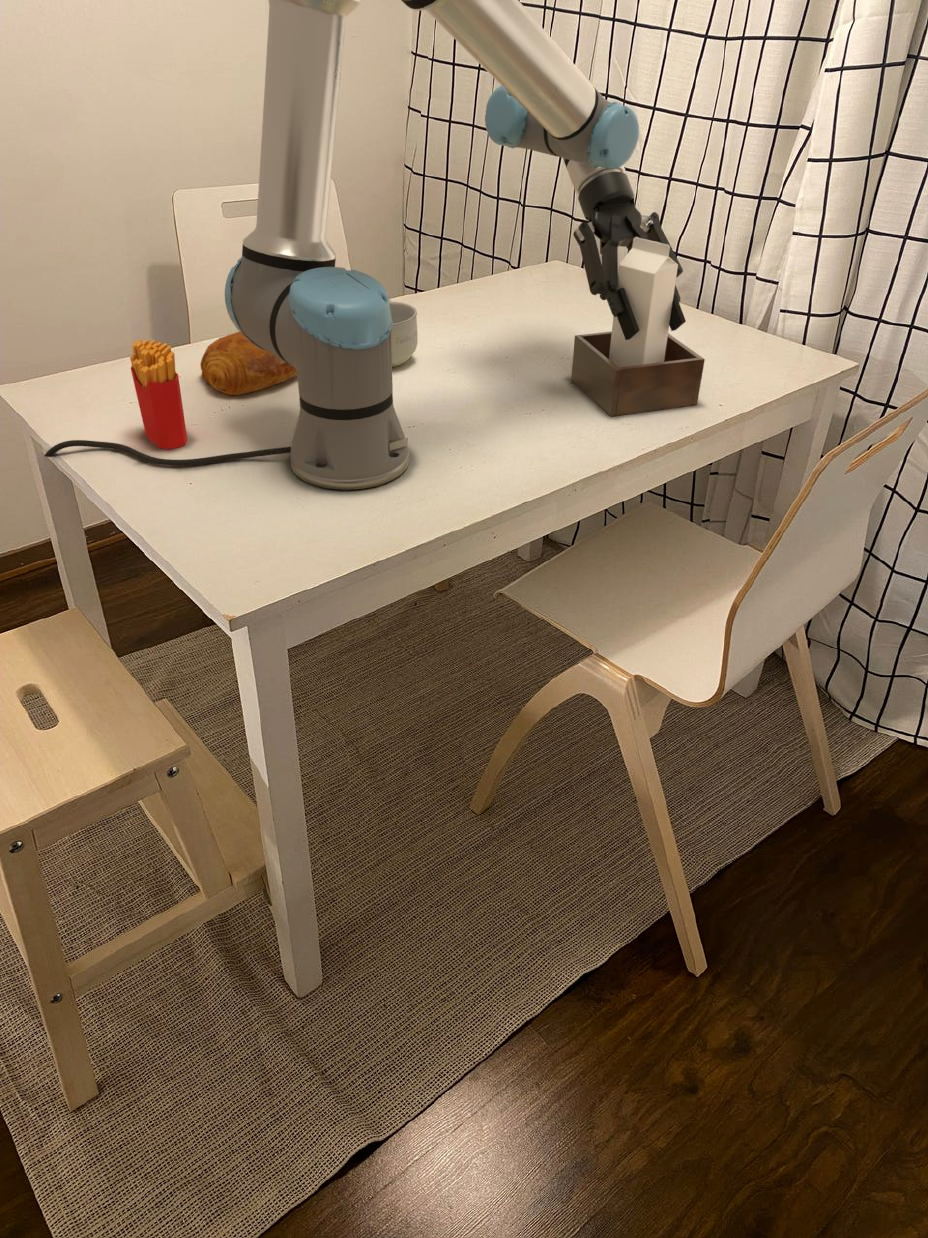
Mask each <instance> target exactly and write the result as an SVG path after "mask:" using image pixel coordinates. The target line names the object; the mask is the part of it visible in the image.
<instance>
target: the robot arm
mask: <svg viewBox="0 0 928 1238" xmlns="http://www.w3.org/2000/svg"><path fill="white" fill-rule="evenodd" d="M267 1H268V7H269V9H268V23H267V24H268V25H267V40H266V42H267V43H266V56H265V57H266V58H265V72H264V73H265V76H264V90H263V91H264V92H263V108H262V125H261V126H262V127H261V142H260V155H259V156H260V158H259V172H258V173H259V175H258V191H257V207H256V222H255V223H256V225H255V228H254V230H253V231H251V233H249V234H248V235H247V236H246V237H244V238H243V239H242V249H241V257H240V258H238V259H237V261H236V262H237V263H235V265H234V266H231V269H230V270H229V273H228V274H227V278H226V281H225V286H224V302H225V308H226V311H227V315H228V316H229V318H230V321H231V322H232V324H233V326H234V327H235V328H236V329H237V331H238V332H239V331H240V332H241V333H242V334H243V335H244V336H245V337H246V338H247V339H249V340H250V342H251V343H253V344H254V345H255V346H257V347H259V348H260V349H263V350H266V351H268V352H269V353H271V354H273V355H274V356H276V357H278V358H279V359H281V360H283V361H284V362H286V363H288V364H289V365H291V366H293V367H294V368H296V370H297V373H296V378H297V388H298V396H299V397H298V398H299V413H298V416H297V422H296V424H295V429H294V432H293V437H292V441H291V445H290V446H284V447H275V448H265V449H258V450H252V451H251V450H250V451H244V452H235V453H227V454H220V455H214V456H206V457H199V458H189V459H171V458H170V459H169V458H167V459H166V458H159V457H155V456H150V455H148V454H145V453H143V452H141V451H139V450H136V449H135V448H133V447H130V446H128V445H125V444H121V443H116V442H108V441H99V440H98V441H97V440H88V439H87V440H86V439H72V440H66V441H62V442H59V443H57V444H55V445H53V446H52V447H50V449H48V450H47V451H46V453H44V457H46V458H49V457H50V458H51V457H53V456H54V455H55V454H56V453H57V452H59V451H61V450H63V449H66V448H71V447H86V448H87V447H90V448H98V449H99V448H101V449H111V450H117V451H121V452H124V453H126V454H128V455H130V456H134V457H135V458H137V459H139V460H141V461H144V462H146V463H149V464H154V465H158V466H166V467H167V466H170V467H184V466H186V467H187V466H200V465H207V464H215V463H220V462H228V461H236V460H242V459H243V460H244V459H250V458H259V457H265V456H274V455H283V454H284V455H285V454H289V457H290V466H291V467H290V468H291V469H292V472H293V473H294V474H295V475H296V476H297V477H298V478H299V479H300V480H302V481H304V482H306V483H308V484H309V485H313V486H316V487H320V488H324V489H329V490H330V489H331V490H342V491H343V490H344V491H346V490H347V491H348V490H349V491H351V490H363V489H369V488H373V487H378V486H380V485H384V484H386V483H389V482H391V481H393V480H395V479H396V478H398V477H400V476H401V475H402V474H403V473H404V472H405V471H406V470H407V468H408V466H409V462H410V456H409V444H408V437H407V438H406V436H405V434H404V431H403V428H402V426H401V423H400V420H399V417H398V415H397V412H396V409H395V406H394V393H393V392H394V391H393V390H394V389H393V387H394V385H393V367H392V349H391V327H392V317H391V311H390V304H389V299H390V298H389V295H388V292H387V290H386V288H385V287H384V286H383V284H382V283H381V282H380V281H379V280H377V278H375V277H373V276H372V275H369V274H368V273H365V272H364V271H360V270H358V269H357V270H356V269H349V270H348V269H346V268H345V267H340V266H336V261H337V253H336V252H335V250H334V249H333V247H332V246H331V244H330V243H329V242H328V240H327V229H328V228H327V226H328V217H329V216H328V215H329V206H330V194H331V184H332V182H331V181H332V172H333V161H334V151H335V140H336V130H337V129H336V128H337V120H338V119H337V118H338V109H339V106H338V105H339V97H340V86H341V76H342V75H341V74H342V63H343V55H344V42H345V31H346V21H347V19H348V16H349V15H351V14H352V13H353V12H354V11H355V10H356V9H357V8H358V7H359V6H360V5H361V4H362V0H267ZM400 1H401V2H402V3H403V4H404V5H405V6H406V7H407V8H408V9H410V10H412V11H416V12H421V11H422V12H423V11H426V12H427V14H429V15H430V16H431V17H432V18H433V19H434V20H435V21H436V23H438V24H439V25H440V26H441V28H443V29H444V30H445V32H447V33H448V35H450V36H451V38H452V39H454V40H455V41H456V42H457V43H458V44H459V45H460V46H461V47H462V48H463V49H464V50H465V51H466V52H467V53H468V54H469V55H470V57H472V58H473V59H474V61H476V62H477V63H478V64H479V65H480V66H481V67H482V68H483V69H484V70H485V71H486V72H487V73H488V74H489V75H490V76H491V77H492V78H493V79H494V80H495V81H496V82H497V83H498V84H499V85H500V86H498V87H497V88H495V90H494V91H492V93H491V95H490V96H489V98H488V100H487V103H486V106H485V115H484V124H485V129H486V133H487V136H488V137H489V138H490V140H491V141H492V142H493V143H494V144H496V145H498V146H504V147H507V148H510V149H517V148H519V149H525V150H530V151H534V152H538V153H541V154H546V155H549V156H553V157H556V158H557V157H558V158H562V160H563V163H564V165H565V168H566V171H567V173H568V176H569V179H570V181H571V184H572V187H573V189H574V192H575V194H576V195H577V196H578V197H577V200H578V204H579V206H580V209H581V211H582V214H583V217H584V219H585V220H586V221H582V222H581V223H580V224H579V225H578V226H577V228H576V229H575V230H574V232H573V237H574V240H575V241H576V243H577V244H578V246H579V249H580V253H581V257H582V263H583V266H584V267H583V268H584V271H585V275H586V279H587V284H588V288H589V292H590V294H591V295H592V296H597V295H599V298H600V299H601V300H602V301H607V302H606V303H607V304H608V307H609V309H610V312H611V315H612V317H613V316H614V317H617V318H618V321H619V323H620V326H621V329H622V332H623V334H624V337H625V340H629V339H631V338H632V337H633V336H634V335H635V334H636V333H637V332H639V331H640V330H639V327H638V324H637V321H636V319H635V316H634V313H633V311H632V308H631V305H630V303H629V300H628V297H627V295H626V292H625V289H624V288H620V289H619V290H618V291H617V288H618V270H619V259H618V257H619V255H618V254H619V253H618V249H619V247H623V248H626V249H627V250H628V252H629V251H630V250H631V249H632V245H633V239H634V238H635V237H638V238H642V239H646V240H650V241H655V242H659V243H663V244H667V245H669V246H670V250H669V257H670V258H671V259H672V260H673V261H674V262H675V263H677V264H678V268H677V275H676V279H678V277H680V276H681V275H682V273H683V272H684V269H683V267H682V264H681V263H680V261H679V259H678V258H677V255H676V253H675V251H674V250H673V248H672V246H671V244H670V242H669V240H668V238H667V236H666V234H665V232H664V230H663V228H662V226H661V221H660V215H659V214H658V212H656V211H653V212H652V213H651V214H650V215H645V214H642V213H641V212H640V210H639V209H637V207H636V204H635V193H634V190H633V187H632V185H631V182H630V179H629V176H628V174H627V173H625V171H626V168H625V164H627V162H628V161H629V160H630V159H631V158H632V155H633V154H634V151H635V150H636V148H637V146H638V143H639V137H640V123H639V119H638V116H637V114H636V113H635V111H634V110H633V109H632V108H630V107H629V106H627V105H623V104H621V103H620V102H617V101H612V102H611V101H609V100H608V99H606V98H605V97H604V96H603V95H602V94H601V92H599V91H598V90H597V88H596V87H595V86H594V85H593V84H592V82H591V80H590V79H589V78H588V77H587V76H585V75H584V74H583V73H582V71H581V70H580V69H579V68H578V67H577V66H576V64H575V63H574V62H573V60H571V59H570V58H569V56H568V55H567V54H566V52H564V51H563V49H562V48H561V47H560V46H559V45H558V43H557V42H556V41H555V40H554V39H553V38H552V37H551V36H550V34H549V33H548V32H547V31H546V30H545V29H544V28H543V26H542V25H541V24H539V22H538V21H537V20H536V19H535V18H534V16H533V15H532V14H531V13H530V12H529V11H528V9H527V8H526V7H525V6H524V5H523V4H522V3H521V2H520V0H400ZM596 238H597V239H598V240H599V248H598V243H597V239H596ZM680 302H681V296H680V293H679V290H678V287H677V286H676V284H675V289H674V296H673V303H672V310H671V316H670V323H669V329H670V331H671V332H674V331H677V330H678V329H679V328H680V327H681V326H682V325H684V324H685V323H686V322H687V320H686V318H685V315H684V312H683V309H682V307H681V304H680Z"/></svg>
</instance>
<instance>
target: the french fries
mask: <svg viewBox="0 0 928 1238" xmlns="http://www.w3.org/2000/svg"><path fill="white" fill-rule="evenodd" d="M131 347H132V349H133V350H132V354H131V355H130V357H129V359H130V362H131V366H130V371H131V372H130V373H131V376H132V380H133V385H134V389H135V395H136V398H137V402H138V403H137V404H138V406H139V411H140V415H141V420H142V424H143V429H144V433H145V437H146V438H147V439H148V440H149V441H150V442H151V443H152V444H153V445H154V446H156V447H158V448H159V449H164V450H174V449H177V448H180V447H184V446H185V445H187V442H188V434H187V427H186V421H185V415H184V414H185V413H184V405H183V400H182V392H181V387H180V386H181V384H180V377H179V374H178V372H176V358H175V357H176V356H175V352H173V351H172V347H171V346H170V345H168V344H167V343H166V342H164V343H163V344H162V342H161V341H158V342H156V340H155V339H152V340H150V341H149V339H148V338H147V339H145V340H143V341H142V339H141V338H138V339H137V340H136V341H134V343H133V344H132V345H131Z"/></svg>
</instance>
